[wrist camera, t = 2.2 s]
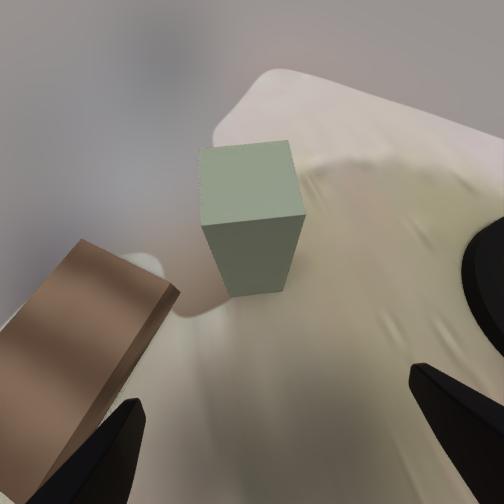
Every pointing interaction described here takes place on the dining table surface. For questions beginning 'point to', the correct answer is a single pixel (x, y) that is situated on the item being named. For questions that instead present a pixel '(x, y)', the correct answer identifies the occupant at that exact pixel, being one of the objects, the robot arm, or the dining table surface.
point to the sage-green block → (251, 214)
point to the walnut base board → (71, 360)
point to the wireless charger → (486, 281)
